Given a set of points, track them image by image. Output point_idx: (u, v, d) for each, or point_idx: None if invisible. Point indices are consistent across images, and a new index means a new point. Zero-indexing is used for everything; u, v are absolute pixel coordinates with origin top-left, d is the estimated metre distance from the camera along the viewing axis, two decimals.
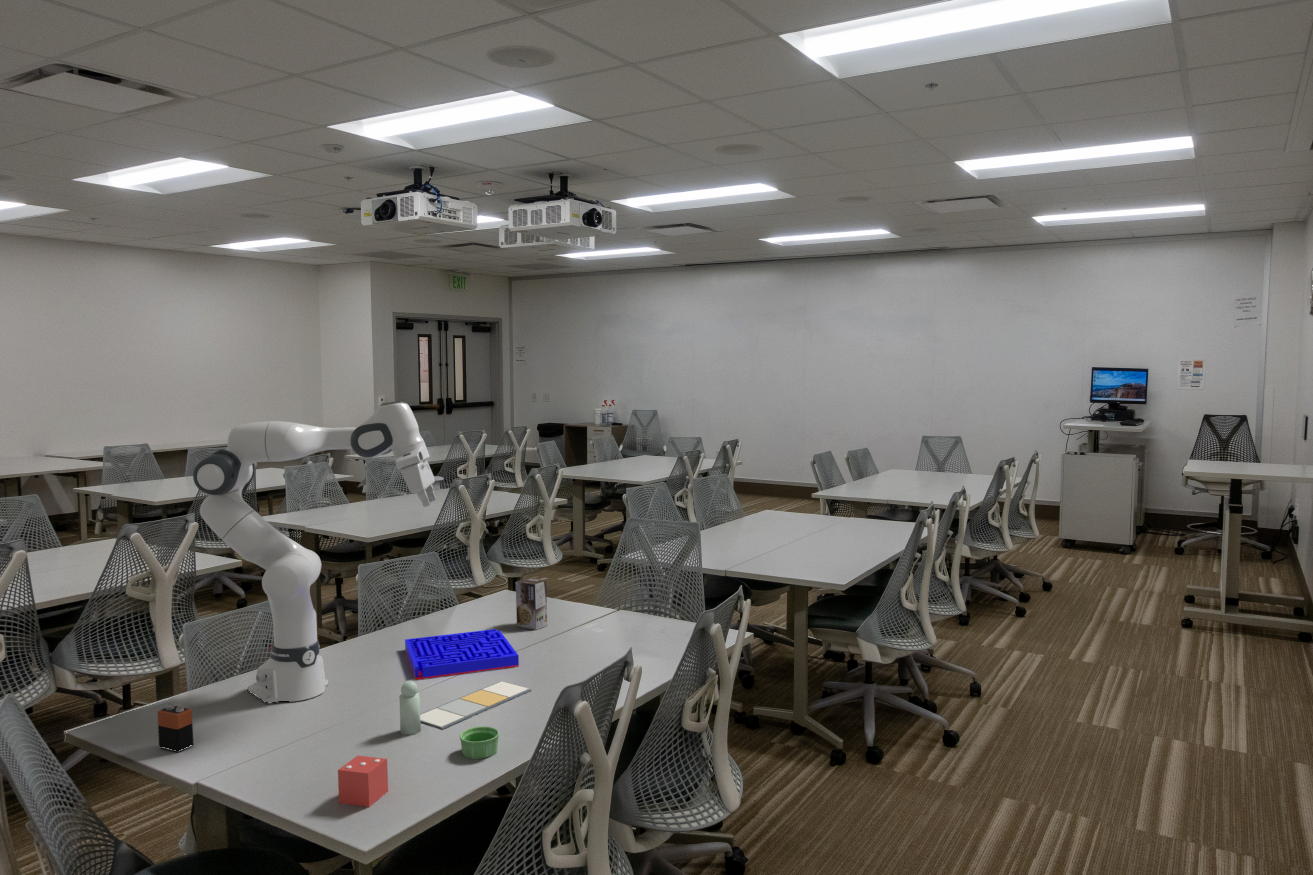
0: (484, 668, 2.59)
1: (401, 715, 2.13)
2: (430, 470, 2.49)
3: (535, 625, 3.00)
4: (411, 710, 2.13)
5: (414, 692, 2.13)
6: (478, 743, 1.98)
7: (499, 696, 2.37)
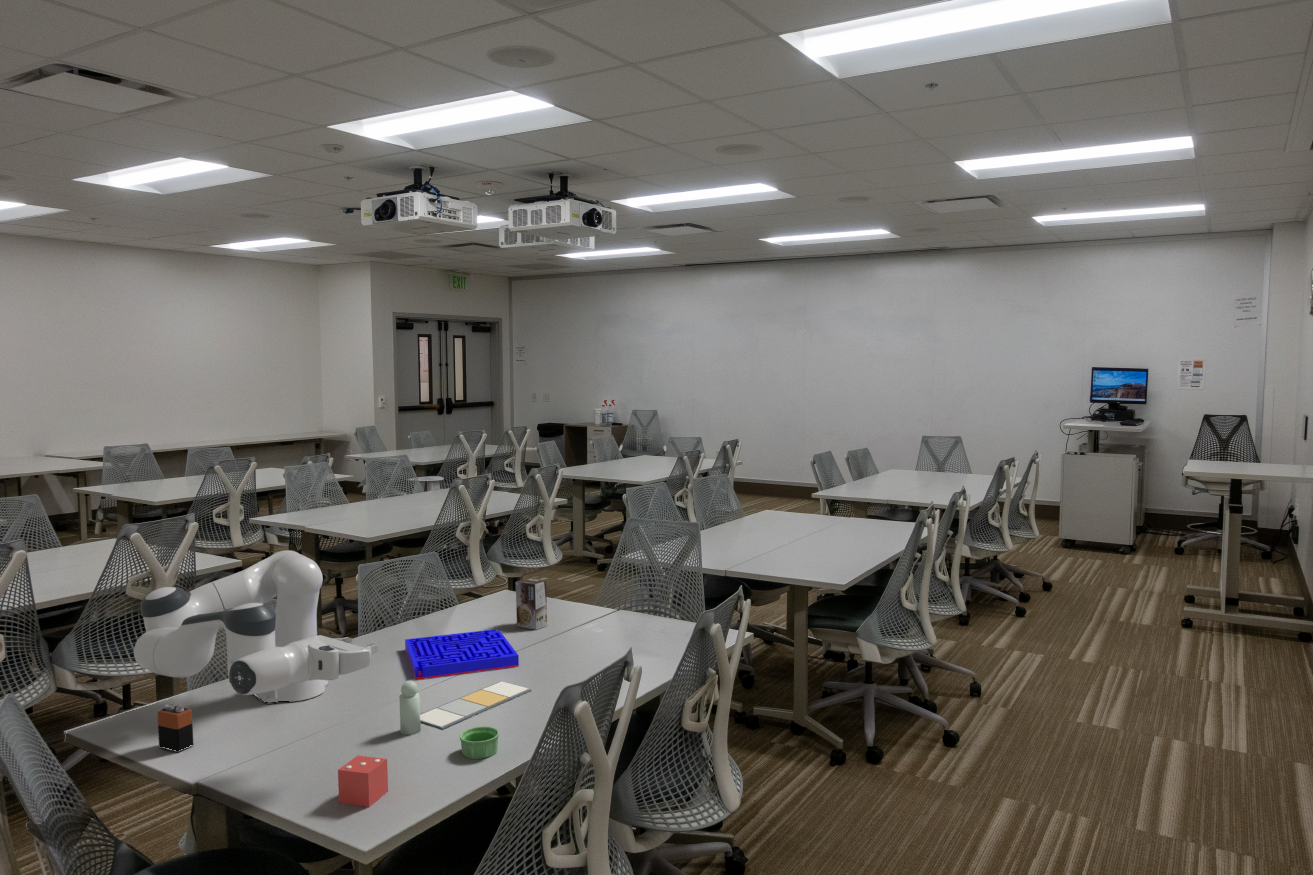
0: (484, 669, 2.59)
1: (401, 715, 2.13)
2: None
3: (535, 625, 3.00)
4: (411, 710, 2.13)
5: (414, 692, 2.13)
6: (478, 743, 1.98)
7: (499, 696, 2.37)
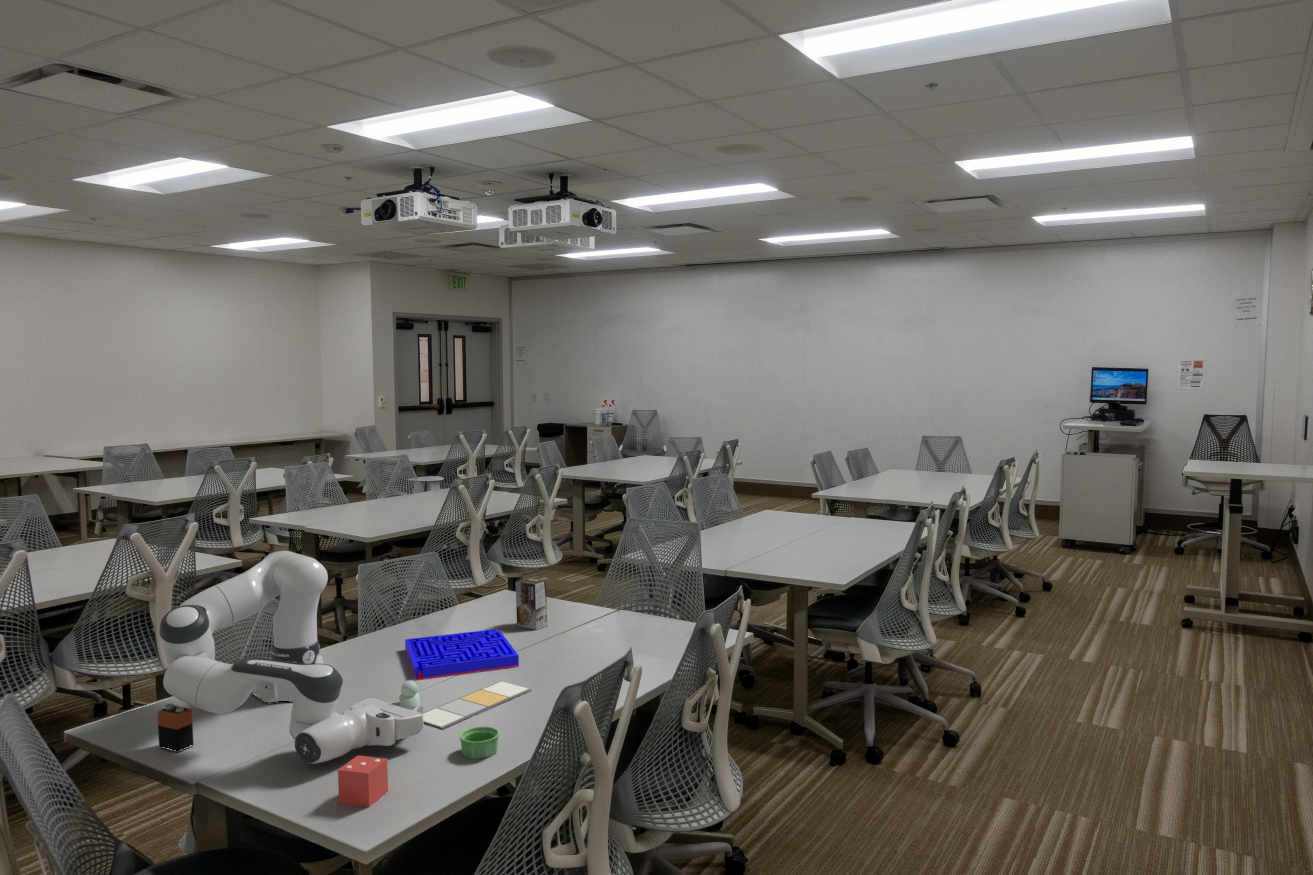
0: (484, 669, 2.59)
1: None
2: (363, 702, 2.13)
3: (535, 625, 3.00)
4: None
5: (414, 692, 2.13)
6: (478, 743, 1.98)
7: (499, 696, 2.37)
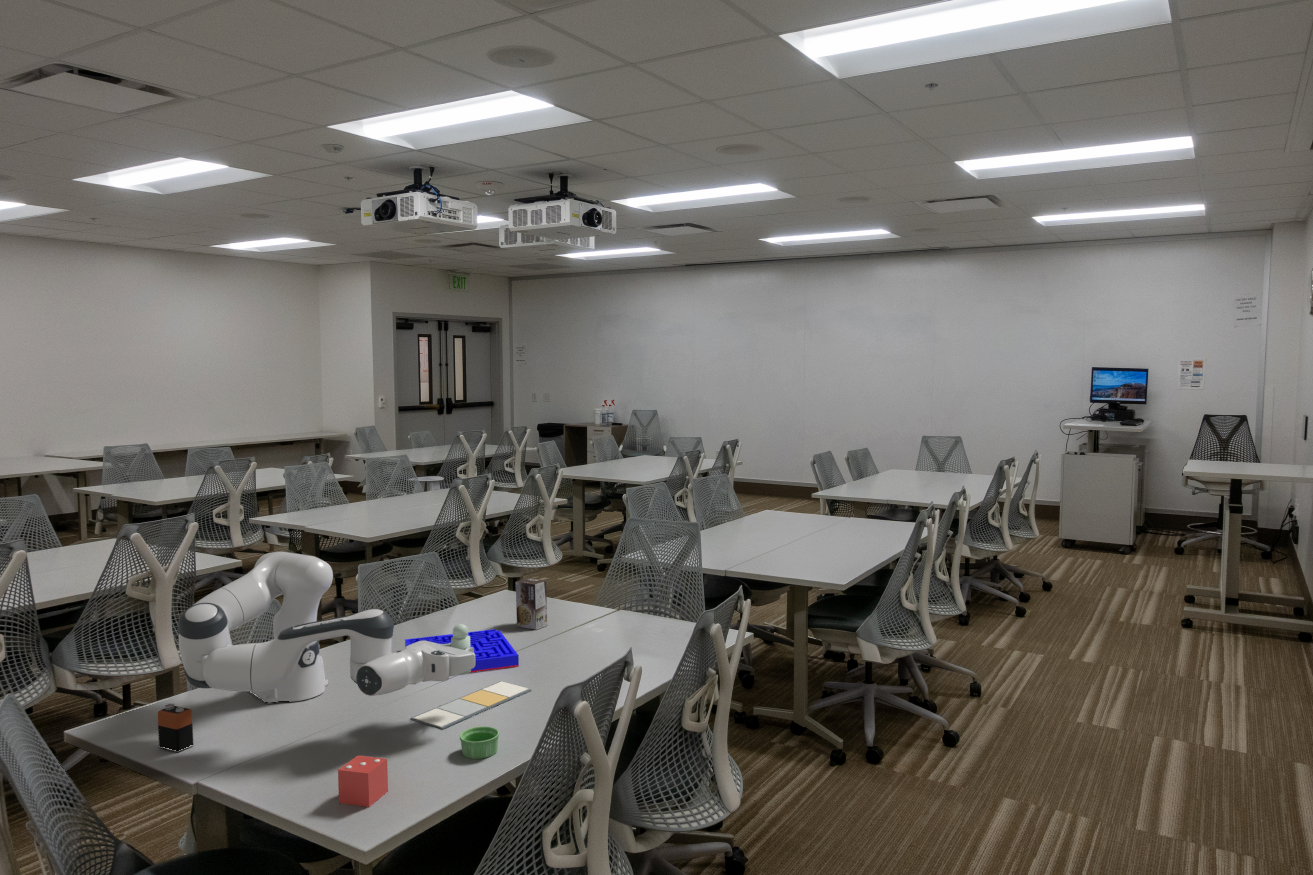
0: (484, 668, 2.59)
1: None
2: (417, 643, 2.24)
3: (535, 625, 3.00)
4: None
5: (465, 634, 2.24)
6: (478, 743, 1.98)
7: (499, 696, 2.37)
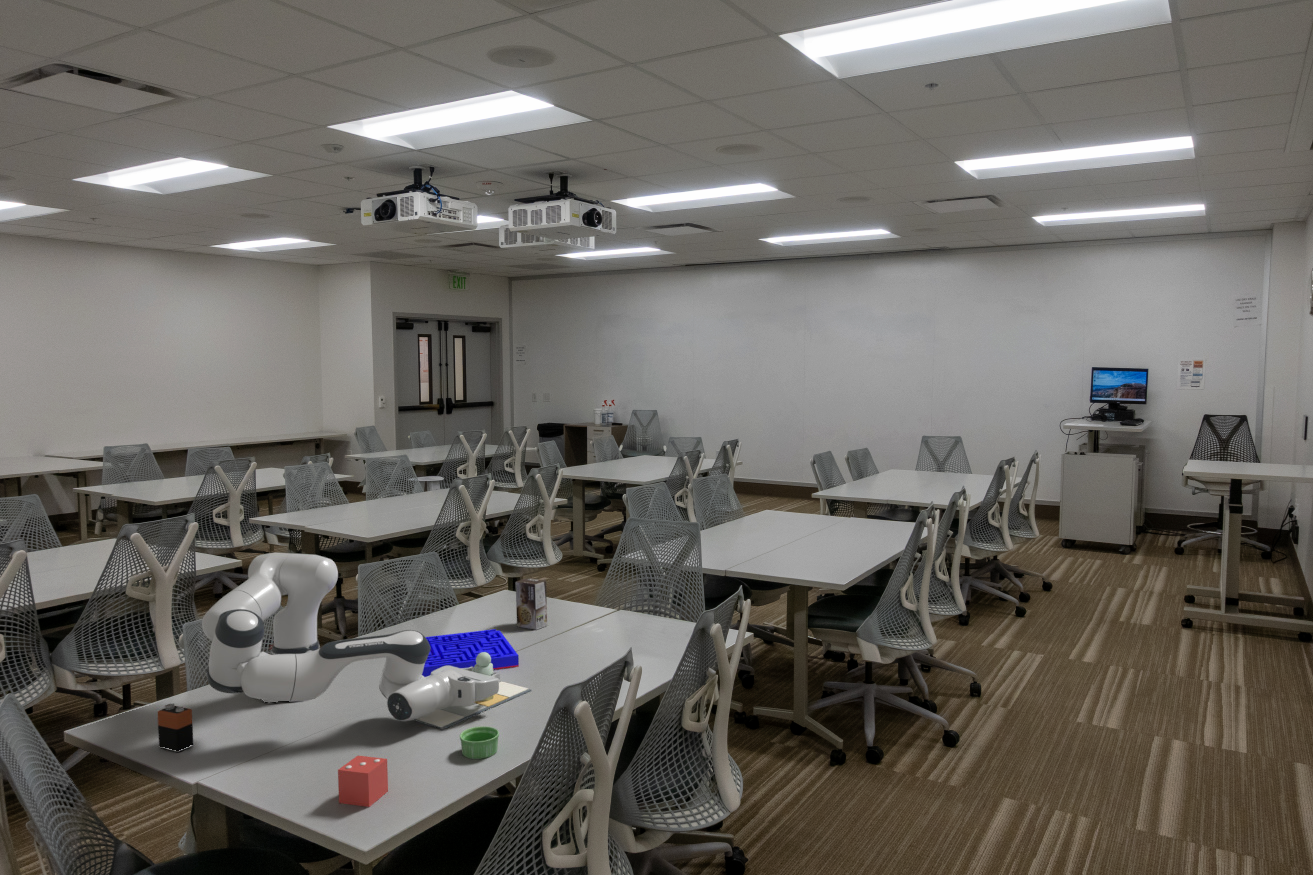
0: None
1: None
2: (442, 669, 2.34)
3: (535, 625, 3.00)
4: None
5: (488, 662, 2.34)
6: (478, 743, 1.98)
7: (499, 696, 2.37)
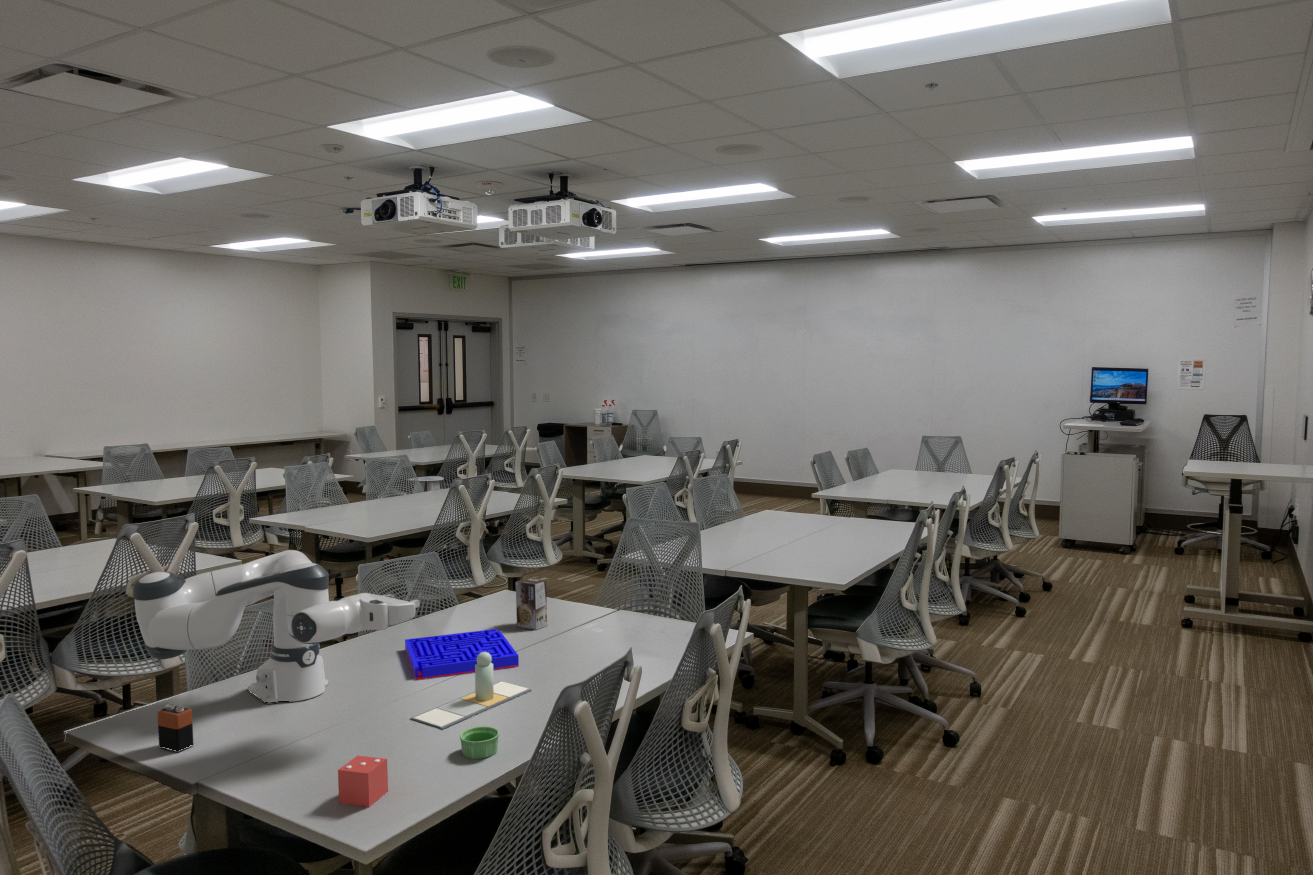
0: None
1: (477, 683, 2.34)
2: None
3: (535, 625, 3.00)
4: (486, 678, 2.33)
5: (489, 662, 2.34)
6: (478, 743, 1.98)
7: (499, 696, 2.37)
